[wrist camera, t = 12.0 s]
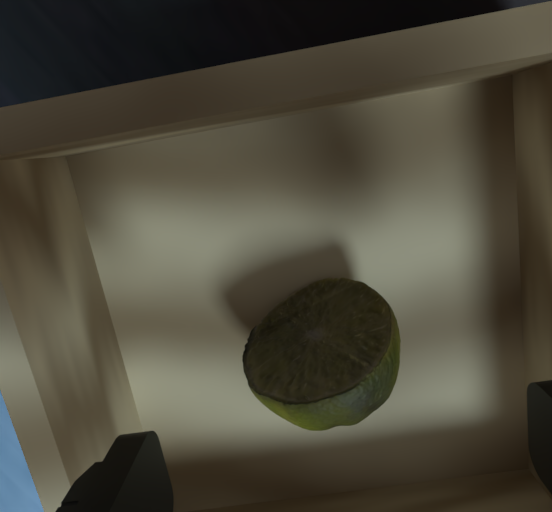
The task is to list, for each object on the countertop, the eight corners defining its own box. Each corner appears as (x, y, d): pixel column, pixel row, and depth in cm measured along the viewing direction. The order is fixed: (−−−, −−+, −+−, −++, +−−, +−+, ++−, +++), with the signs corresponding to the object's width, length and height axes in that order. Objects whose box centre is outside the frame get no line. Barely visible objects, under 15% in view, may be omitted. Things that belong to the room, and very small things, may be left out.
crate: (44, 132, 16) (-95, 125, 10) (526, 42, 15) (681, -25, 9) (155, 517, 20) (101, 670, 14) (540, 468, 19) (654, 613, 13)
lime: (236, 345, 17) (215, 428, 12) (300, 237, 16) (305, 278, 11) (337, 398, 17) (357, 498, 12) (406, 295, 16) (458, 361, 11)
